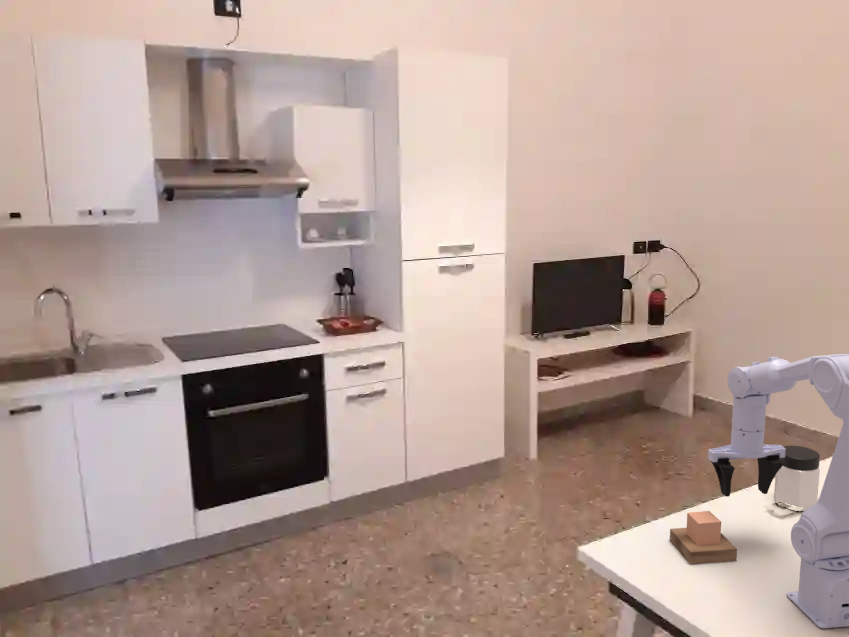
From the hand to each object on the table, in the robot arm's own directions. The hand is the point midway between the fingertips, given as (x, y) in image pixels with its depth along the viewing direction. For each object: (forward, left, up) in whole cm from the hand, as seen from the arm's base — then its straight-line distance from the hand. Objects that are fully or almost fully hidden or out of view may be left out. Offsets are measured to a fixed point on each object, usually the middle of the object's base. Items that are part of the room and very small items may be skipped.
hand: (744, 493), depth 135 cm
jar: (+14, -20, -11) cm, 27 cm away
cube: (-2, +9, -8) cm, 12 cm away
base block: (-2, +9, -10) cm, 14 cm away
